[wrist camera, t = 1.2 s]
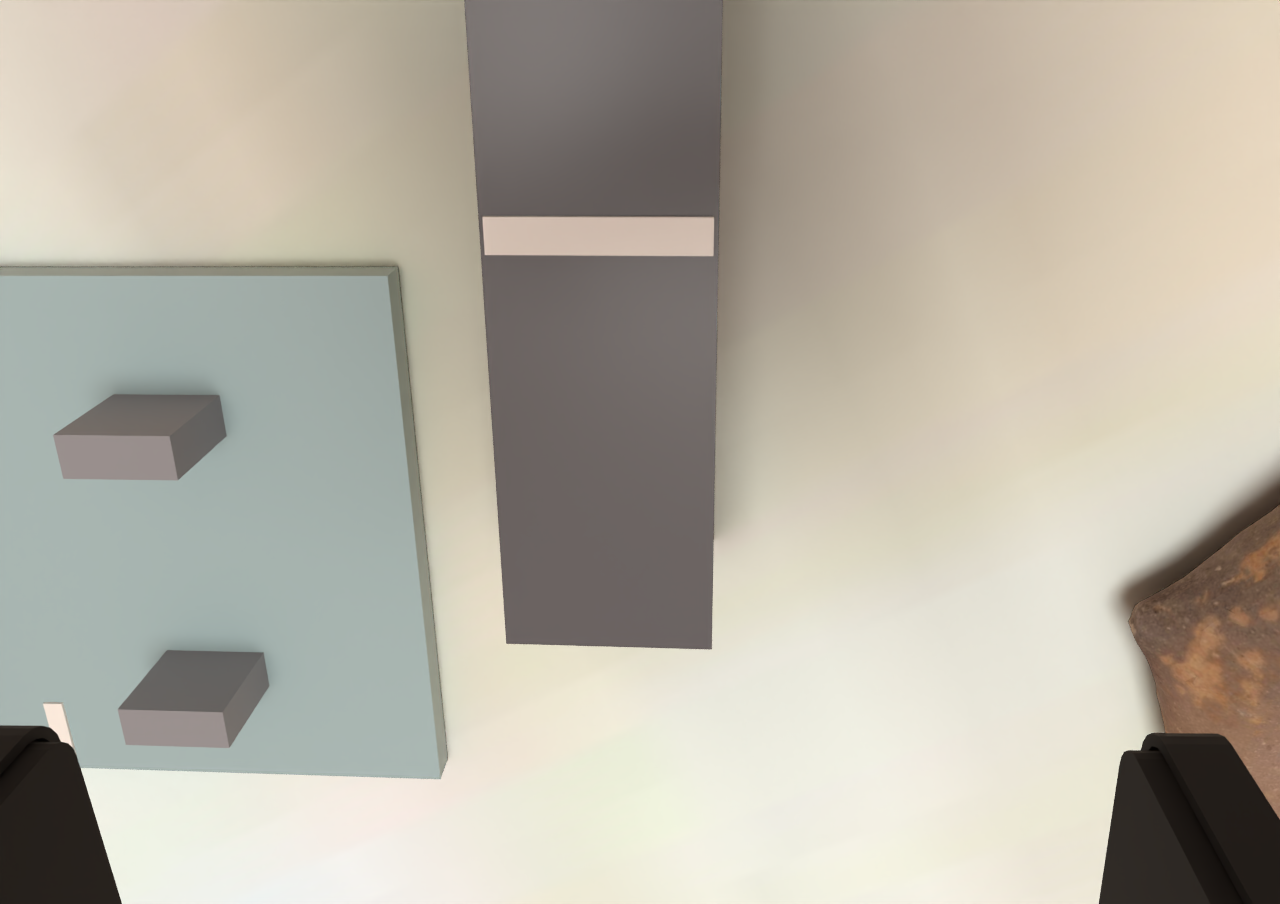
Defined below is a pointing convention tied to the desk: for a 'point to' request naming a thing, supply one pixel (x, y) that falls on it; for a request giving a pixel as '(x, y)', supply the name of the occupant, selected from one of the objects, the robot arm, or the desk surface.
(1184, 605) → the pipe
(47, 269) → the base
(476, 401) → the desk surface
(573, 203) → the dark gray block
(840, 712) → the desk surface
